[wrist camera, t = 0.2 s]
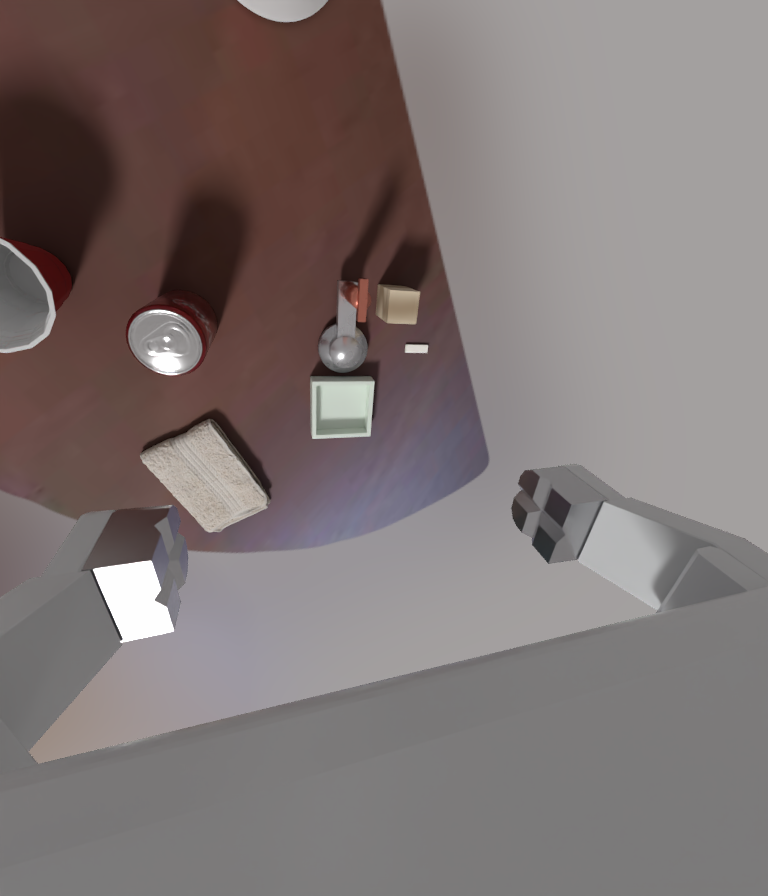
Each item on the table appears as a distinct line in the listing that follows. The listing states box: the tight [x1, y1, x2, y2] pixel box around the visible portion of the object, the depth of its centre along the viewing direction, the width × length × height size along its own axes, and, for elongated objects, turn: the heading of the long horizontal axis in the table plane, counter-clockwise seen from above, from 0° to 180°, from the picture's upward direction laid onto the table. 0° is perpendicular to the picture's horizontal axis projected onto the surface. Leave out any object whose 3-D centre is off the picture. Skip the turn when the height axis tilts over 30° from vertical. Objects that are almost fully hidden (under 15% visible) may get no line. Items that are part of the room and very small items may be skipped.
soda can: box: [126, 290, 218, 376], centre depth 42 cm, size 7×7×12 cm
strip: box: [405, 344, 428, 353], centre depth 57 cm, size 1×4×1 cm, turn 84°
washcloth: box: [140, 419, 270, 532], centre depth 58 cm, size 12×18×3 cm, turn 22°
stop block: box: [376, 284, 420, 324], centre depth 51 cm, size 4×4×6 cm
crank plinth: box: [318, 323, 367, 373], centre depth 54 cm, size 7×7×1 cm
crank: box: [329, 278, 371, 368], centre depth 47 cm, size 12×4×10 cm, turn 175°
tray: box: [310, 376, 375, 439], centre depth 58 cm, size 9×9×2 cm
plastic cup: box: [0, 237, 72, 353], centre depth 37 cm, size 11×11×12 cm
